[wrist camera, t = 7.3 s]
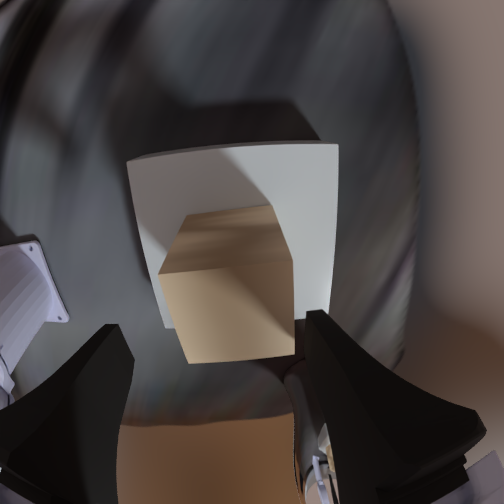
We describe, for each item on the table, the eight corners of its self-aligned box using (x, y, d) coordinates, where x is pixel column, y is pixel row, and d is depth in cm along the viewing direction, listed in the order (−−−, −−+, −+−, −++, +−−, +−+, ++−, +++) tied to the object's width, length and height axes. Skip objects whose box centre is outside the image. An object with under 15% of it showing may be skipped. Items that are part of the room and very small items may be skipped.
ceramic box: (173, 298, 21) (165, 328, 18) (146, 154, 16) (126, 161, 13) (315, 287, 21) (327, 315, 18) (318, 139, 16) (338, 144, 13)
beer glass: (292, 348, 23) (330, 511, 10) (357, 353, 24) (412, 486, 11) (269, 392, 26) (288, 525, 13) (328, 394, 27) (361, 511, 14)
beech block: (201, 286, 16) (188, 363, 11) (186, 215, 14) (157, 274, 9) (277, 278, 16) (294, 354, 11) (272, 204, 14) (292, 259, 9)
